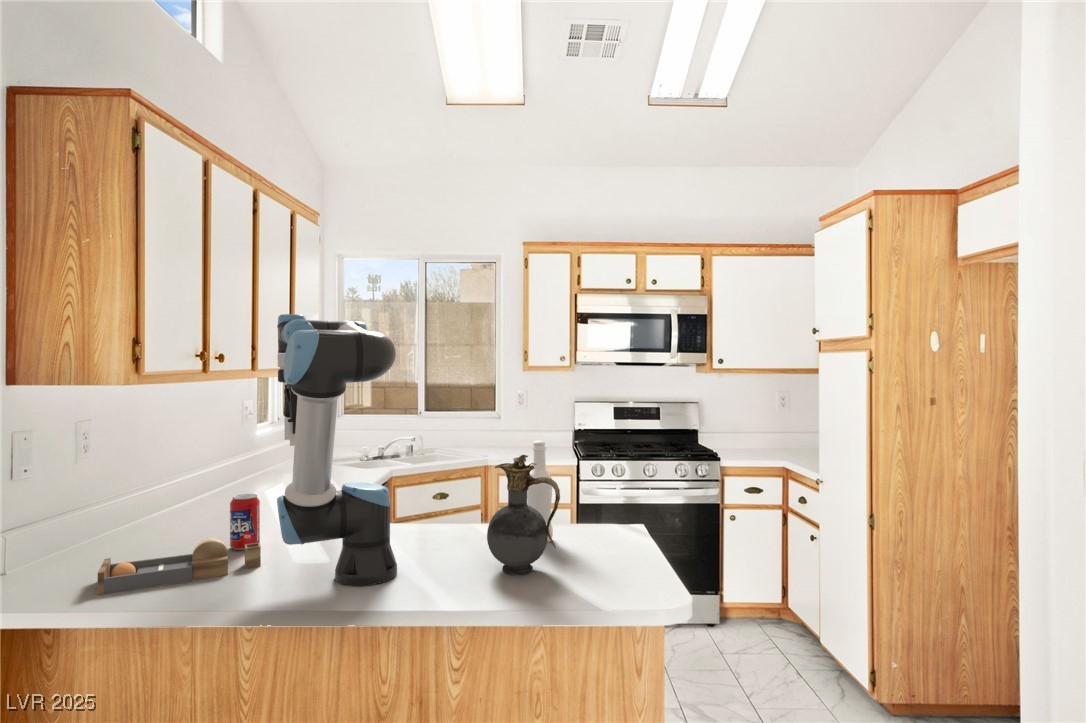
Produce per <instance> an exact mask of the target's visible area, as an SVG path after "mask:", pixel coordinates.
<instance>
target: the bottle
mask: <svg viewBox="0 0 1086 723" xmlns="http://www.w3.org/2000/svg"><path fill="white" fill-rule="evenodd" d="M532 444H533V448H532V450H533V462H532V463H534V464H536V465H534V464H532V465H533V466H534V469H533V470H531V471H530V476H532V477H533V478H539V477H548V478H551V479H552V480H553V478H552V476H551V474H550V472H549V471H548V470H547V467H546V450H547V449H546V445H545V444H546V442H545V441H543V440H534V441H533V443H532ZM552 498H553V487H552V486H551V485H549V484H547V483H539V484H533V485H531V486H529V488H528V490H527V505H528V506H531V507H533V508H534V509H536V510H537V511H538V512H540V514H541V515H542V516H543V518H544V520H545V522H546V525H547V522H548V519H549V517H550V515H551V512H552ZM553 531H554V530H553V526H552V521H551V522H550V525H549V533H550V535H551V538H552V539H553V534H554V533H553ZM549 542H551V540H550V539H549V537H548V539H547V544H549Z"/></svg>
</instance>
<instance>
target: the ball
mask: <svg viewBox="0 0 1086 723" xmlns="http://www.w3.org/2000/svg"><path fill="white" fill-rule="evenodd" d="M119 563H120V564H118V565H117V566H115V567H114V569H113V570H112V573H111V577H113V576H120V575H128V574H135V573H136V569H135V567H134V566H133V565H132V564H130V563H124V562H119Z"/></svg>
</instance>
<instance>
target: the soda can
mask: <svg viewBox="0 0 1086 723" xmlns="http://www.w3.org/2000/svg"><path fill="white" fill-rule="evenodd" d="M231 498H232V499H231V501H230V502H229V547H230V548H231V549H233V550H235V551H245V544H253V543H260V544H261V541H260V540H261V525H260V524H261V507H260V506H261V504H260V503H261V501H260V499H259V498H258V495H257V494H255V493H241V494H237V495H234V496H233V495H232V497H231Z"/></svg>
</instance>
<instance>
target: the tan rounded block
mask: <svg viewBox="0 0 1086 723" xmlns="http://www.w3.org/2000/svg"><path fill="white" fill-rule="evenodd" d="M192 554H193V556H192V581H193V580H200V579H206V578H207V579H208V578H216V577H221V576H228V575H229V558H228V548H227V545H226V544H225V543H224V542H223V541H222V540H221V539H218V538H212V537H211V538H207V539H204V540H202V541H200V542H198V543H197V544H196V546H195V547H194V549H193V552H192Z"/></svg>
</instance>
